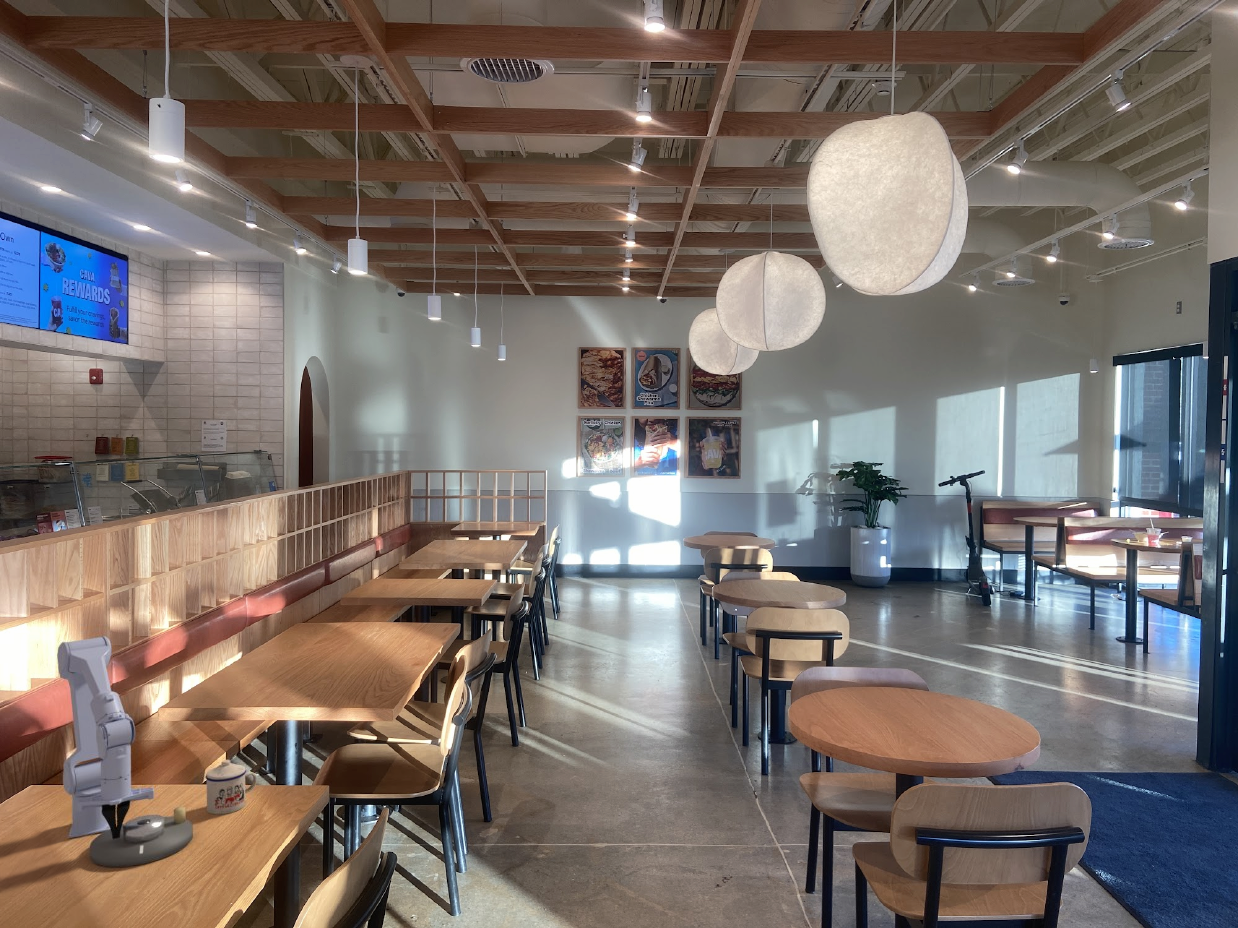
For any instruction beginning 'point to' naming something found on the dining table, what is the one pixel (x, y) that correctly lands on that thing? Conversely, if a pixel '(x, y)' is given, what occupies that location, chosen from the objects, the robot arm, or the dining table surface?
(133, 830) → the cover
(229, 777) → the teacup with lid
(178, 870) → the dining table surface
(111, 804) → the robot arm
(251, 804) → the dining table surface
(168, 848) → the turntable
